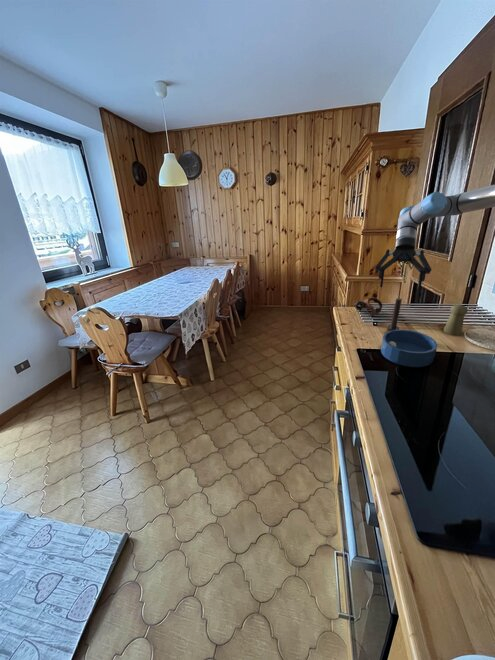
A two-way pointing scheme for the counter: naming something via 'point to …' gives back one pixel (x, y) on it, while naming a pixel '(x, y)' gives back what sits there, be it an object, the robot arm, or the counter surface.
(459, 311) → the olive green waisted cylinder
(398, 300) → the brown wooden pestle
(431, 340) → the bowl
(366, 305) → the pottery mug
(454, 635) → the counter surface
